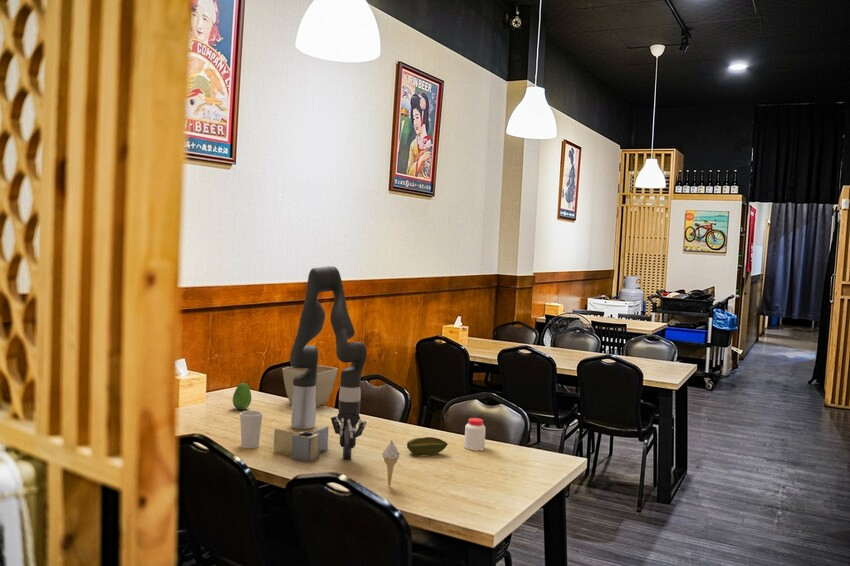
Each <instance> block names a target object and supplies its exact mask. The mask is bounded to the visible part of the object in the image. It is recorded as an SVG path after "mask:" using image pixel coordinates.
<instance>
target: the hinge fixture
mask: <svg viewBox="0 0 850 566" xmlns="http://www.w3.org/2000/svg"><path fill="white" fill-rule="evenodd" d="M328 442H329V426H328V425H327V426H323V427H321V428H318V429H316V430H314V431H306V430H302V431H300V432H298V431H297V432H296V431H291V430H286V429H282V428H277V427H276V428H274V432H273V453H277V454H282V455H286V456H290V457H291V460H293V461H294V460H295V461H298V462H303V463H304V462H305V463H310V462H312V461H314V460H316V459H319V458H320V453H322V452H325V451H326V450H328V448H329V447H328V446H329V443H328Z"/></svg>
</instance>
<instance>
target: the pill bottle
mask: <svg viewBox="0 0 850 566" xmlns="http://www.w3.org/2000/svg"><path fill="white" fill-rule="evenodd" d="M464 428H465V429H464V442H463V444H464V445H463V448H464V447H465V448H467V449H472V450H481V449H484V450H485V446H486V445H485V444H486V442H485V441H486V426H485V425H484V419H482V418H478V417H470V418H468V422H467V424H465V427H464ZM465 448H464V449H465ZM467 449H466V450H467Z"/></svg>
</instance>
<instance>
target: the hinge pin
mask: <svg viewBox="0 0 850 566" xmlns="http://www.w3.org/2000/svg"><path fill="white" fill-rule="evenodd" d="M349 445H350V432H349V427H348V426H346V425H344V440H343V447H342V460H345V461H348V460H349V461H350V460H351V459H352V449H353V448H352V449H351V448H349Z"/></svg>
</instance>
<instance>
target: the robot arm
mask: <svg viewBox="0 0 850 566" xmlns="http://www.w3.org/2000/svg"><path fill="white" fill-rule="evenodd" d="M342 281H343V280H342V277H341V273H340V271H339V269H338V268H337V267H336V266H333V265H332V266H331V265H329V266H327V265H326V266H317V267H313V268H311V269H310V271H309V273H308V277H307V283H306V291H305V292H306V293H305V296H304V297H305V298H304V303H303V307H302V310H301V314H300V317H299V318H300V319H299V324H298V328H297V331H296V336H295V339H294V342H293V345H292V348H291V351H290V356H289V364H290V367H291V366H292V367H293V368H299V369H300V368H308V369H307V371H306V372H305V373H303V374H301V375H299V376H296V377H295V378H294V379H293V396H292V404H291V422H290V424H291V426H290V427H291V428H292V429H297V430H310V429H313V428H315V426H316V412H317V410H316V409H317V407H316V402H315V394H316V377H317V365H319V350H318V347H317V346H316V345H307V344H308V343H310V342H311V341H312V340H313V339H315V337H317V336H318V335H319V334H320V333H321V332H322V330H323V328H324V324H325V320H326V311H325V309H324V308H323V306H322V304H321V303H320V301H319V299H318V296H319V294H320V293H324V292H332V293H333V296H334V297H333V298H334V301H333V305H332V308H331V312H330V319H329V320H330V323H331V328H332V330H333V333H334V336H335V337H334V338H335V345H336V346H335V349H336V350H335V351H336V357H337V359H338V360H339V361H340V362H341V363H345V364H347V363H349V364H350V366H349V367H347V368H344V369H342V370H341V371H340V382H339V383H340V384H339V385H340V387H339V392H338V413H337V415H335V416H332V417H330V420H331V424H332V428H333V430H334V433H335V434H337V435H338V436H339V445H340V448H343V440H344V425H346V426H348V427H349V432H350V445H349V448H351V449H354V448H355V446H357V445H356V443H357V441H356V440H357V438H358V437H360V436H362V434H363V432H364V429H365V428H366V425H367V421H366V420H362V419H361V416H360V411H361V393H362V392H361V383H362V382H361V379H362V378H361V377H362V372H363V369H364V367H365V363H366V360H367V356H368V350H367V346H366V345H365V343H363V342H362V341H349V342H348V340H350V339H352V338H353V337H354V336H355V328H354V325H353V321H352V320H351V317H350V314H349V311H348V307H347V302H346V296H345V290H344V286H343V285H344V284H343V282H342ZM357 425H358V426H357Z"/></svg>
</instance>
